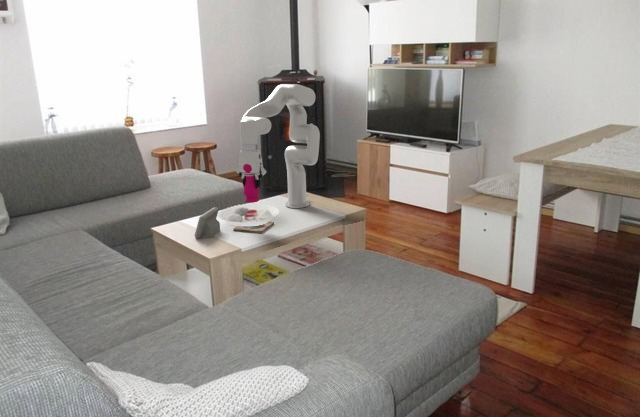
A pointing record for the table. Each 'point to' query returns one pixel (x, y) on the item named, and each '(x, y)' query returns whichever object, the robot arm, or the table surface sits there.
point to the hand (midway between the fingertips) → (251, 187)
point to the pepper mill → (250, 185)
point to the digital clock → (208, 224)
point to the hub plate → (254, 228)
